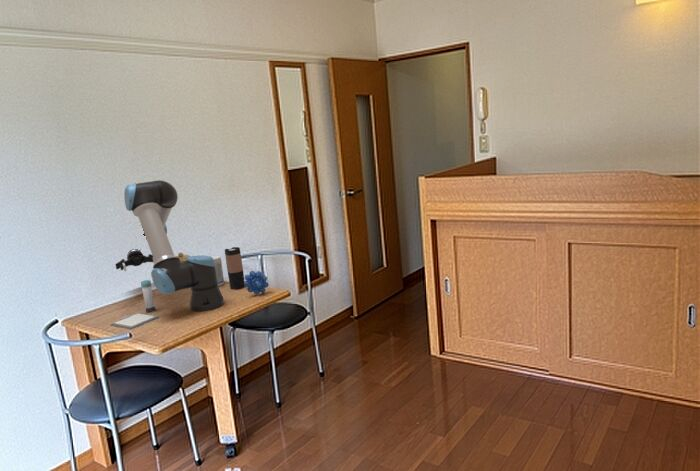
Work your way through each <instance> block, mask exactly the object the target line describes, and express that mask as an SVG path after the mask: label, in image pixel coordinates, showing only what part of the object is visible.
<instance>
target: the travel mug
mask: <svg viewBox="0 0 700 471" xmlns="http://www.w3.org/2000/svg"><path fill="white" fill-rule="evenodd" d="M224 255H225V261H226V264H225V265H226V271H227V276H228V281H229V282H228V283H229V287H230V289H231V290H233V291H234V290H239V289H243V288H245V287H246V286H245V285H244V282H245V274H244V267H243V261H242V253H241V248H240V247H239V246H238V247H237V246H235V247H234V246H233V247H231V248H225V249H224Z"/></svg>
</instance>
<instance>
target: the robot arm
mask: <svg viewBox="0 0 700 471" xmlns="http://www.w3.org/2000/svg"><path fill="white" fill-rule="evenodd" d="M123 198H124V206H125V208H126V210H127V211H130V212H131V211H132V213H133V215H134V216H135V217H137V218H138V220H139V222H140V226H142V228H143V231H144V234H143V235H144V236H146V240H147V241H146V242H147V244H148V247H149V249H150V252H151V254H148V255H147V256H146V255H144V253H143V252H142V251H141V249H140V250H138V249H132V250H130V251H129V252H128V254H127V258H126V259H124V258H122V259H121V260H120V261H117V262H116V263H115V268H116V270H119V269H120V271H124V272H127V267H129V266H133V267H138V266H141V265H142V264H146V263H153V266H152V268H153V269H152V270H151V273H150V275H151V278H152V280H151V281H152V283H153V285H154V287H155V288H156V290H157V291H158V292H159V293H160V294H162V295H166V294H170V293H171V294H172V293H175V292H178V291H182V290H186V289H189V288H190V289H191V294H190V295H191V296H190V301H189V308H190V310H191V311H194V312H203V311H209V310H213V309H217V308H219V307H221V306H223V305H224V304H225V299H224V298H225V297H224V296H223V294H222V292H221V290H220V288H219V286H218V284H217V277H216V270H215V264H214V260H213V258H212V257H210V256H211V255H189V256H190V257H187V259H186V262H182V263H181V261H180V259H179V257H176V255H175V253H174V250H173V249H172V245H171V243H170V240H169V238H168V235H167V234H168V227H167V225H166V223H167V221H168V218H169V216H170V214H171V211H172V209H173V208H175V206H176V205H177V202H178V199H179V196H178V192H177V190H176V188H175V186H173V185H172V184H171V183H170V182H167V181H165V180H161V179H160V180H159V179H158V180H152V181H144V182H138V183H136V182H135V183H131V184H127V185H126V186H125V188H124V197H123Z"/></svg>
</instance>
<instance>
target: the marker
mask: <svg viewBox="0 0 700 471" xmlns="http://www.w3.org/2000/svg"><path fill="white" fill-rule="evenodd" d="M140 286H141V289H142V296H143V301H144V307H145V312H146V313H153V312H155V311H156V306H155V300H154V293H153V289H152V280H150V279H148V280H143V281H140Z"/></svg>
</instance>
